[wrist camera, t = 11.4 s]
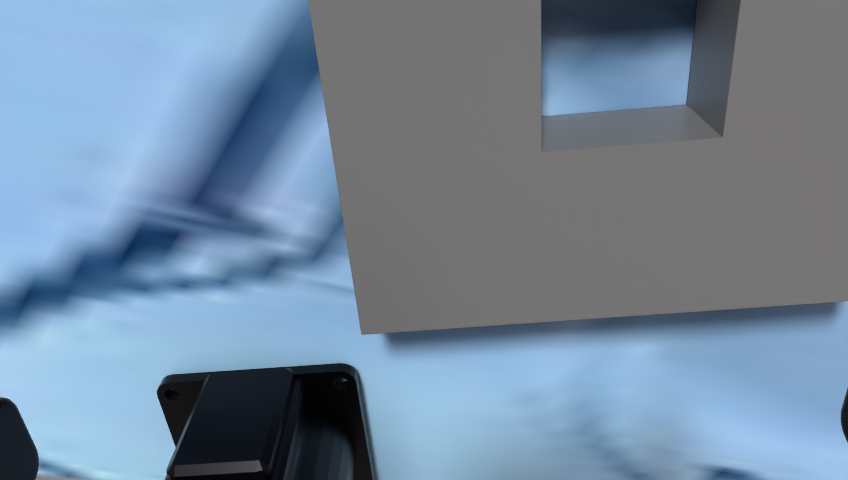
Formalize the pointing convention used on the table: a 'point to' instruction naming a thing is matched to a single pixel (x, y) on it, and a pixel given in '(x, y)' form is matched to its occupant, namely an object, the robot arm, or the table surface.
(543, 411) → the table surface
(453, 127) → the keyhole plate
